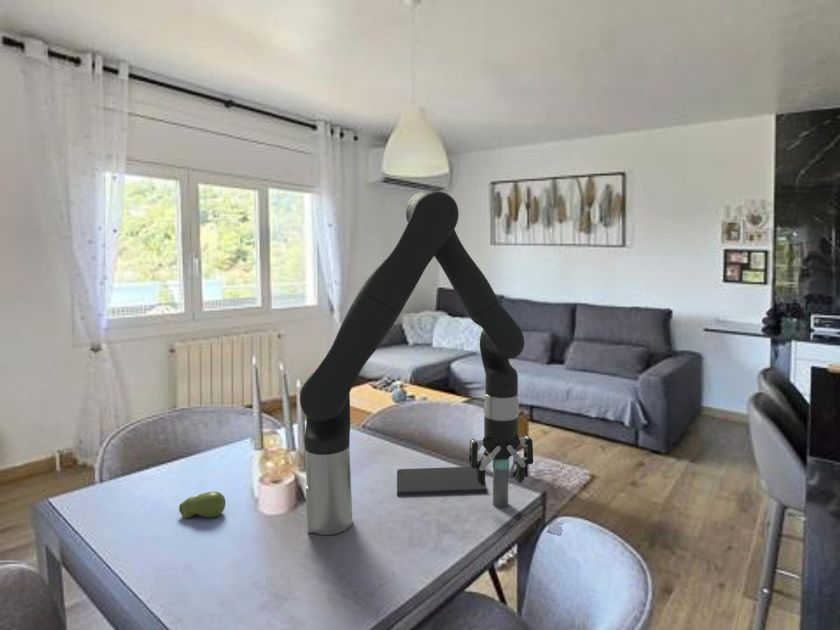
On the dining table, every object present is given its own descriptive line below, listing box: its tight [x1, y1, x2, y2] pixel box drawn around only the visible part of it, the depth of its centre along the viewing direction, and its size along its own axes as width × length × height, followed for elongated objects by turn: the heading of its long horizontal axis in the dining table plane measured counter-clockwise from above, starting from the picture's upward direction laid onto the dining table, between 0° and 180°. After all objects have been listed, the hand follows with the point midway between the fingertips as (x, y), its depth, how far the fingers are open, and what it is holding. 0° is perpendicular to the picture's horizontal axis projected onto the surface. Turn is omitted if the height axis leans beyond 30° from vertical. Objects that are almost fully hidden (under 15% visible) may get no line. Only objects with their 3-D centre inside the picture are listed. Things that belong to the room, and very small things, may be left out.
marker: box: [492, 457, 510, 509], centre depth 118 cm, size 4×4×11 cm
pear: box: [178, 491, 226, 519], centre depth 116 cm, size 6×5×10 cm
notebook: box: [396, 466, 487, 497], centre depth 130 cm, size 13×2×21 cm
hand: (500, 482), depth 118 cm, fingers open, 8 cm apart
